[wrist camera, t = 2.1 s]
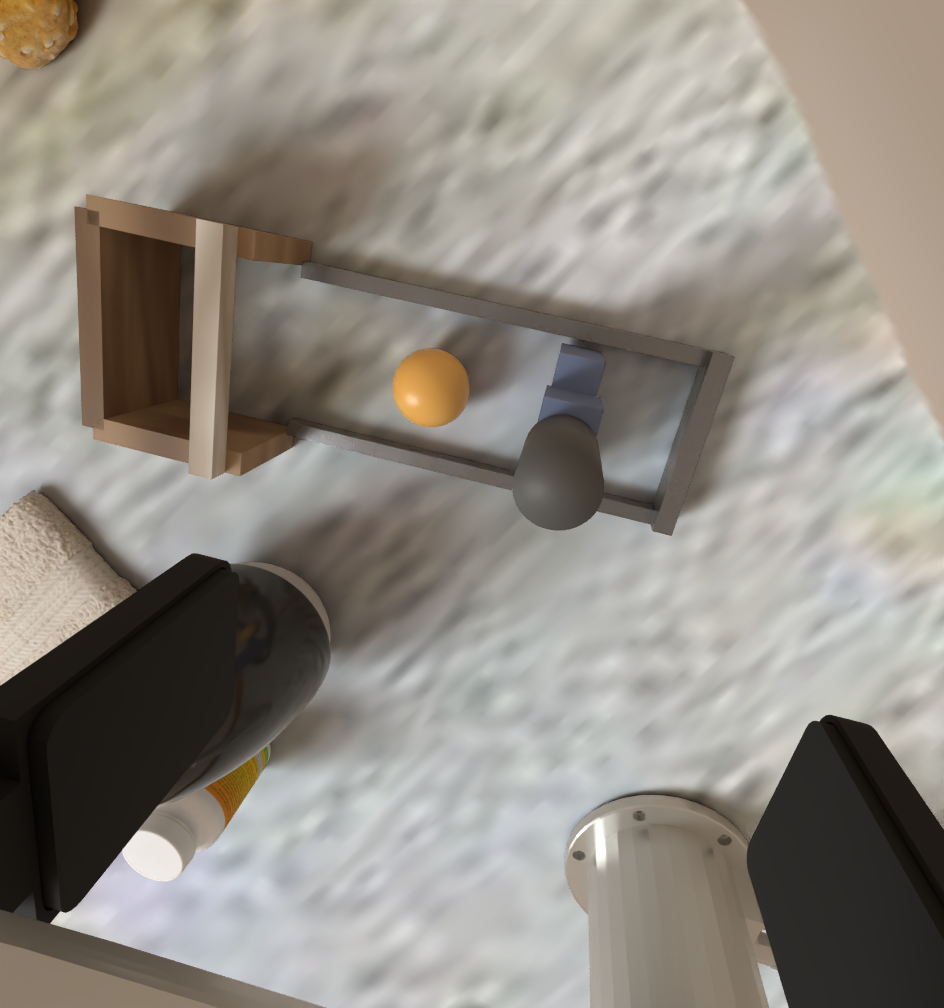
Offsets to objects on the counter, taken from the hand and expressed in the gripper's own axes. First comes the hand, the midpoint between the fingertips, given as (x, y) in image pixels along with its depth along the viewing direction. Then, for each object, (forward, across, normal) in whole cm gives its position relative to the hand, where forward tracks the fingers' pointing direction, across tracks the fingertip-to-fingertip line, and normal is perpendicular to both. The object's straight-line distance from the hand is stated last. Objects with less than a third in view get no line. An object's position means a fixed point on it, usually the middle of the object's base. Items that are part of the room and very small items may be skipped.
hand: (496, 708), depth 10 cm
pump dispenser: (+25, +14, +17) cm, 33 cm away
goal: (+24, +18, 0) cm, 31 cm away
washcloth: (+25, +33, +22) cm, 47 cm away
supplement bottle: (+25, +17, +28) cm, 41 cm away
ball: (+22, +6, 0) cm, 23 cm away
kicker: (+24, -1, 0) cm, 25 cm away
